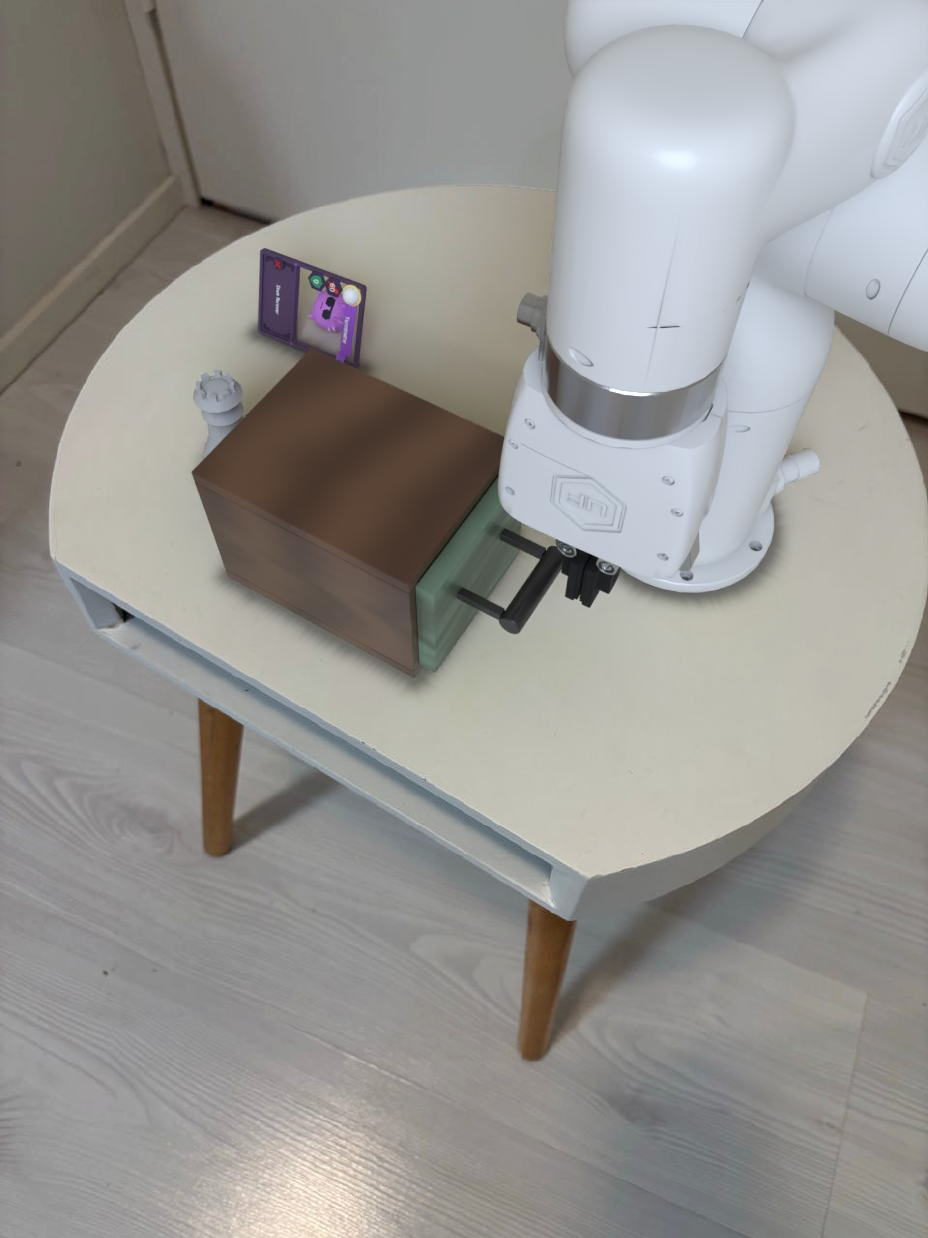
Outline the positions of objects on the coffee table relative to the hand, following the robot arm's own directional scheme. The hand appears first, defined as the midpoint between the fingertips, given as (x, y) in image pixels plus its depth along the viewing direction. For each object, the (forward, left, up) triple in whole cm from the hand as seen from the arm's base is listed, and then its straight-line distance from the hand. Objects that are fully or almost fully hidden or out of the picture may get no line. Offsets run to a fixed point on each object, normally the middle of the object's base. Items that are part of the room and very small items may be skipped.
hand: (588, 583), depth 57 cm
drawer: (+7, -8, -6) cm, 12 cm away
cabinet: (+10, -11, -7) cm, 16 cm away
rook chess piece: (+15, -23, -7) cm, 28 cm away
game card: (+4, -33, -7) cm, 34 cm away
